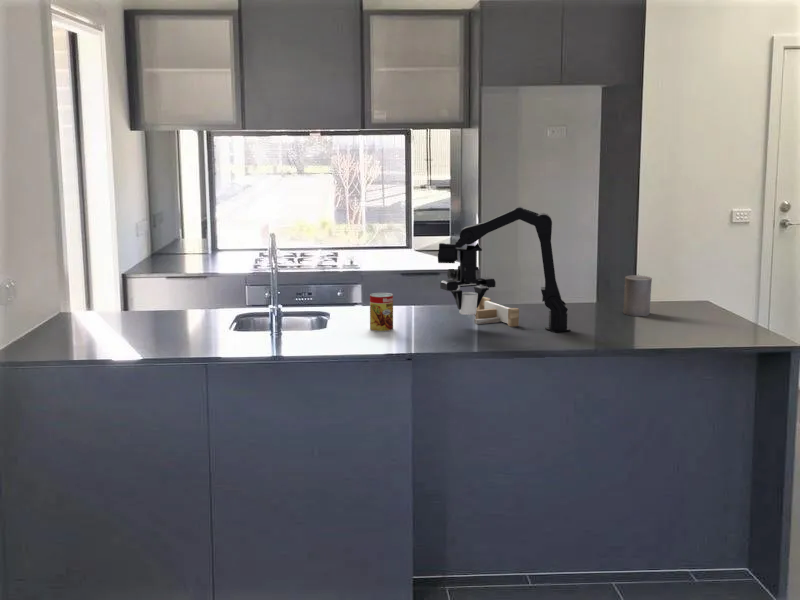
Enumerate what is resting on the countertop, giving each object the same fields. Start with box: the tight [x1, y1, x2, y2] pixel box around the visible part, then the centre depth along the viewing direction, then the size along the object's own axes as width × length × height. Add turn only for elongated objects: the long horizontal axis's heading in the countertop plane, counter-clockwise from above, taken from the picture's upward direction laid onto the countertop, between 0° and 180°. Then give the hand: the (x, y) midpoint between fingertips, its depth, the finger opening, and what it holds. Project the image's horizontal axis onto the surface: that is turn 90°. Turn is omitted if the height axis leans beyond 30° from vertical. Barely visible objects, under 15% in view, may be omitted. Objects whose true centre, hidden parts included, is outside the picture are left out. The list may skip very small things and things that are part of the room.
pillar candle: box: [622, 273, 653, 317], centre depth 348 cm, size 10×10×15 cm
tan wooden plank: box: [473, 296, 520, 328], centre depth 340 cm, size 34×12×6 cm, turn 24°
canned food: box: [369, 292, 394, 332], centre depth 321 cm, size 8×8×12 cm
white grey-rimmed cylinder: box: [458, 291, 478, 316], centre depth 323 cm, size 7×7×7 cm
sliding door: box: [474, 301, 510, 325], centre depth 335 cm, size 18×9×5 cm, turn 24°
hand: (467, 308), depth 323 cm, fingers closed on white grey-rimmed cylinder, 6 cm apart
